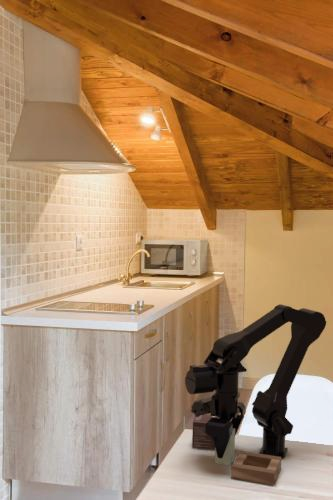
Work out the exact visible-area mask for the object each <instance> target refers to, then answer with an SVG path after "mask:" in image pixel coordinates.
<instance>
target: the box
mask: <svg viewBox="0 0 333 500" xmlns="http://www.w3.org/2000/svg"><path fill="white" fill-rule="evenodd" d="M211 417H213V418H218V417H217V416H211V414H209V415H208V414H205V415H200V416H199V417H195V416H194V418H193V421H192V440H191V448H192V449H195V448H198V449H197V450H207V451H208V450H209V451H215V444H214V441H213V439H212V437H210V436H209V435H207V434H206V433H204V424H205V423H206V422H207V421H208V420H209V419H210V418H211Z"/></svg>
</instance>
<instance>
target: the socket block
mask: <svg viewBox="0 0 333 500" xmlns="http://www.w3.org/2000/svg"><path fill="white" fill-rule="evenodd" d="M230 466H231V471H230V473H231V474H230V479H231V480H237V481H242V482H246V483H247V482H248V483H252V484H260V485H266V486H271V487H274V486H275V485H276V481H277V480H278V477H279V475H280V472H281V470H282V458H281V457H277V456H271V455H265V454H259V452H258V453H256V452H252V451H244V450H240V452H239V454H238V455H237V456H236V458H235V459H234V461H233V462H232V464H231V465H230Z"/></svg>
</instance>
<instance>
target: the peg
mask: <svg viewBox="0 0 333 500" xmlns="http://www.w3.org/2000/svg"><path fill="white" fill-rule="evenodd" d="M235 441H236V436H235V428H233V429H232V436H231V438H230V440H229V443H228V445H227V448H226V451H225V453H224V455H223V458H218V456H217V452H216V448H215V450H214V463H215V464H220V465H227V466H232V465H233V463H234V461H235V448H236V444H235Z"/></svg>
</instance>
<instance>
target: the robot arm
mask: <svg viewBox="0 0 333 500" xmlns="http://www.w3.org/2000/svg"><path fill="white" fill-rule="evenodd" d="M287 323H291V324H290V334H291V335H290V336H291V338H290V341H289V343H288V345H287V347H286V349H285V352H284V354H283V356H282V358H281V361H280V363H279V365H278V368H277V369H276V371H275V373H274V376H273V379H272V381H271V383H270V385H269V387H268V388H267V389H266V390H264V391H261V390H259V391H258V392H257V393H256V396H255V399H254V400H253V402H252V404H251V406H252V408H251V409H252V410H251V413H252V416H253V418H254V419H255V420H256V422H257V423H256V424H257V425H258V426H260V427H262V446H261V448H260V450H259V452H258V454H265V455H271V456H277V457H281V459H285V458H286V455H287V453H288V447H286V437H287V435H290V434H292V431H293V428H294V424H292V423H291V422H290V420H289V419H288V418H286V415H287V411H288V395H289V393H290V391H291V388H292V386H293V383H294V381H295V379H296V377H297V374H298V372H299V370H300V368H301V365H302V362H304V361H303V360H304V358H305V356H306V355H307V354H306V353H307V351H308V349H309V347H310V346H311V345H312V344H313V343H314V342H316V341H317V340H318V339H319V338H320V336H321V335H322V333H323V332H324V330H325V328H326V325H327V320H326V318H325V314H324V313H322V312H320V311H316V310H313V309H309V308H300V309H296V308H293V307H292V306H289V305H285V304H282V303H281V304H277V305H276V306H274V308H273V309H272V310H269V311H268V312H267V313H265V314H264V315H262V316H261V317H259V319H257V320H255V321H254V322H252V323H251V324H249V325H247V326H246V327H245V328H243V329H242V330H240V331H237V332H234V333H229V334H227V335H224V336H222V337H219V338H218V339H216V341H214V342H213V346H212V349H211V351H210V352H209V353H208V354H207V356H206V358H205V360H204V361H203V364H202V365H201V364H200V365H199V364H198V365H196V364H191V365H189V370H187V372H186V375H185V378H184V382H185V383H184V384H185V388H186V391H187V393H188V394H189V395H197V394H198V395H199V394H205V393H206V394H207V393H212V392H214V393H213V394H212V396H208V397H205V398H200V399H197V400H195V401H193V403H192V404H191V410H190V411H191V413H192V414H194V418H195V417H199V416H200V415H208V414H209V415H210V416H217V417H218V418H213V417H211V418H210V419H209V420H208V421H207V422H206V423H205V424H204V433H206V434H207V435H209V436H210V437H212V439H213V441H214V444H215V448H216V452H217V456H218V458H223V455H224V453H225V451H226V448H227V445H228V443H229V440H230V438H231V436H232V429H233V428H235V437H236V435H237V434H238V431H239V428H240V426H241V424H242V422H243V420H244V418H245V415H246V409H247V408H246V405H245V404H244V403H243V402H241V401H240V402H239V398H240V396H241V392H239V375H240V373H245V372H247V368H246V367H245V366H244V365H243V363H242V361H243V360H244V359H245V358H246V357H247V356H248V355H249V353H250V352H251V351H250V350H251V349H252V348H253V347H254V346H255V345H256V344H258V343H259V342H261V341H263V340H264V339H265V338H266V337H268V336H269V335H271V334H272V333H274V332H275V331H276V330H278V329H279V328H281V327H283V326H284V325H285V324H287ZM218 361H220V362H218Z"/></svg>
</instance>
